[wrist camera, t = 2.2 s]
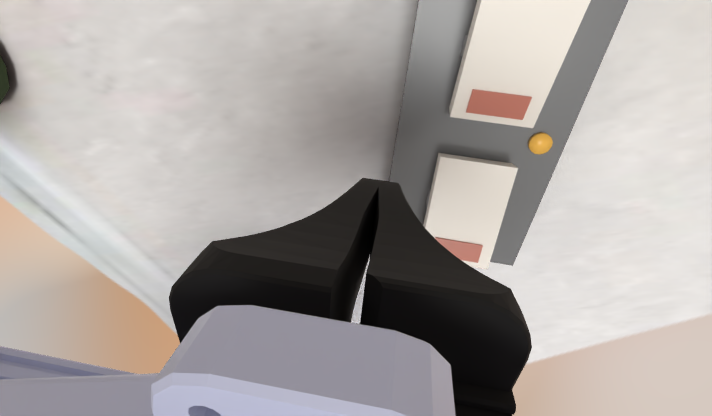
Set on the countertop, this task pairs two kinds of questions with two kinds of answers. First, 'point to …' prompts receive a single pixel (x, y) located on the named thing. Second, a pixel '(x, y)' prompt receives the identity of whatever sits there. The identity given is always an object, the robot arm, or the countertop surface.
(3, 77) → the character mug
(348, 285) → the robot arm
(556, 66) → the rocker
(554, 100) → the double switch panel
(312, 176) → the countertop surface
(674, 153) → the countertop surface
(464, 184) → the rocker
